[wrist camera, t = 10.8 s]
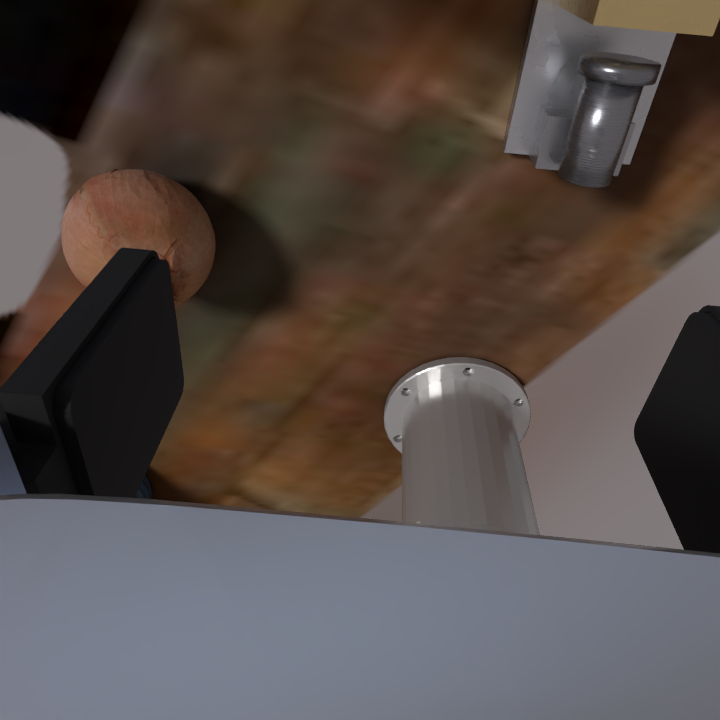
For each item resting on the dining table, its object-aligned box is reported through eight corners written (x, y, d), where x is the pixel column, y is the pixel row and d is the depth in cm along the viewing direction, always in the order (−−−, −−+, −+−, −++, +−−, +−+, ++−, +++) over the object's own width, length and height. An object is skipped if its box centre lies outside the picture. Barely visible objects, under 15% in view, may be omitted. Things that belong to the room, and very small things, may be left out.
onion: (224, 211, 45) (257, 296, 39) (124, 276, 46) (141, 368, 40) (141, 110, 38) (165, 195, 31) (24, 189, 38) (25, 286, 32)
